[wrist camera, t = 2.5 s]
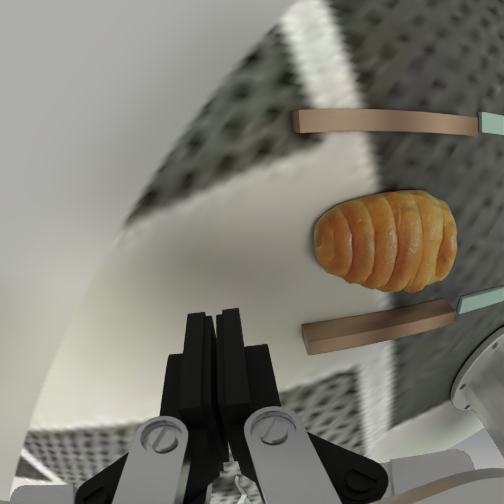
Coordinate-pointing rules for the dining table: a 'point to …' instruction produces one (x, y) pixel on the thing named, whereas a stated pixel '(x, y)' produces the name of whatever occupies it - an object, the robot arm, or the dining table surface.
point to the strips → (498, 294)
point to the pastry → (388, 241)
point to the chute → (395, 320)
